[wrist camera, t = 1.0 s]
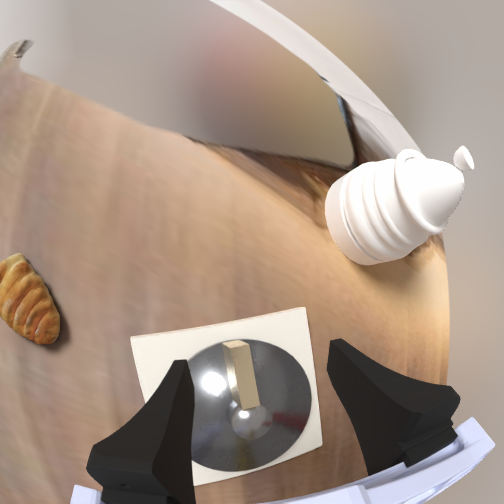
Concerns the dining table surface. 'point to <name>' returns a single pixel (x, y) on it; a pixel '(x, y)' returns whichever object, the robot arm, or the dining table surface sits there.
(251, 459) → the handwheel
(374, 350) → the dining table surface
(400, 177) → the honey pot
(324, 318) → the dining table surface
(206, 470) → the base
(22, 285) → the pastry
